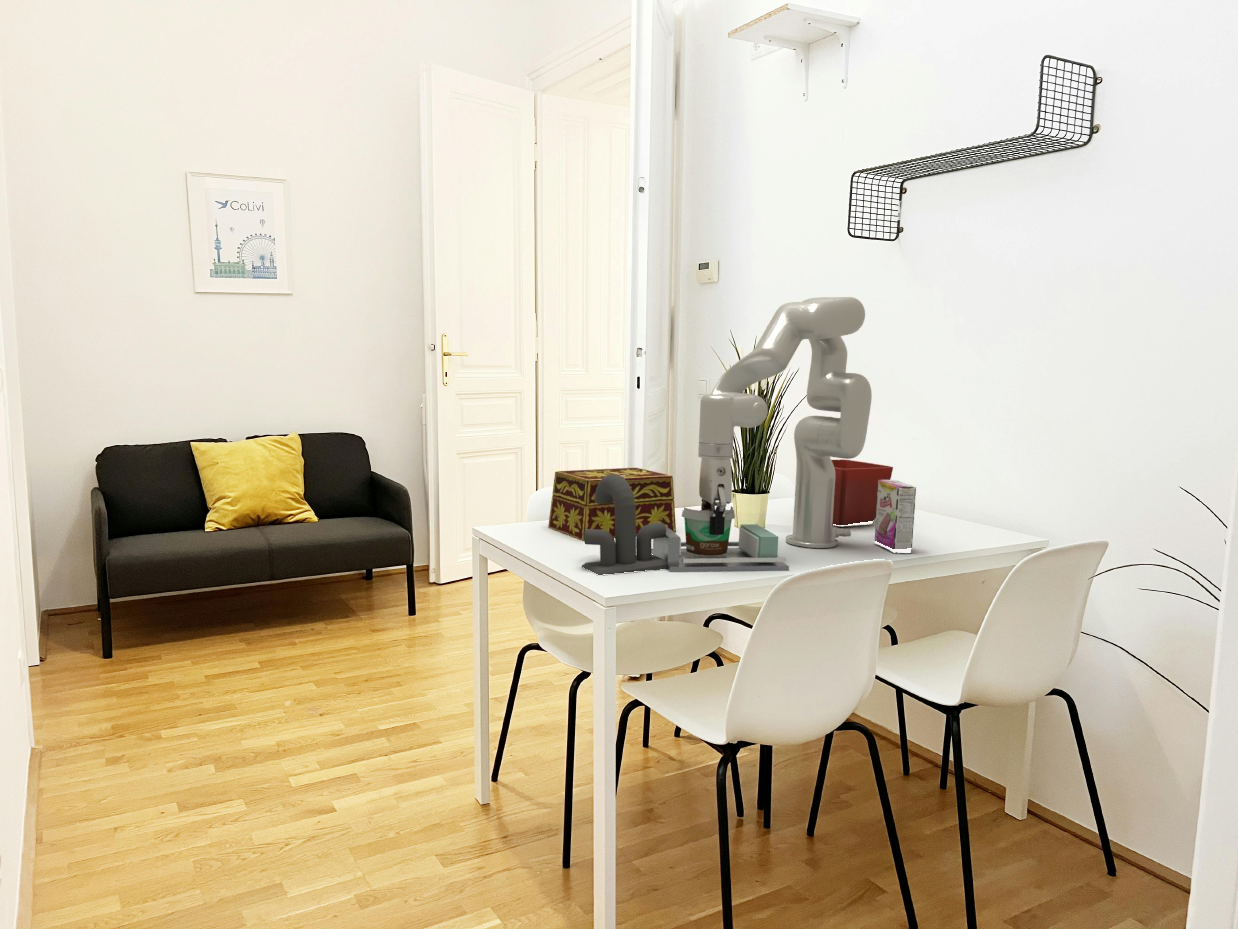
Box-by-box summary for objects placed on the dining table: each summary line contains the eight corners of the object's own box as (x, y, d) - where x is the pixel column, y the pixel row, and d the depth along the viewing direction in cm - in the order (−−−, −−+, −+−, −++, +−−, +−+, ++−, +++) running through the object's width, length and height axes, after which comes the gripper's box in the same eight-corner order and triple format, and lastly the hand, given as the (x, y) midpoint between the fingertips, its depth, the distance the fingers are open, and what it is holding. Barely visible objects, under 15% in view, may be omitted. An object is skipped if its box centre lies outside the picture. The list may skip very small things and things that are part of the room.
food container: (689, 557, 200) (691, 512, 199) (680, 551, 206) (681, 507, 204) (742, 555, 203) (744, 511, 202) (731, 549, 209) (733, 506, 208)
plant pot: (841, 515, 271) (844, 458, 269) (890, 526, 255) (895, 466, 253) (792, 519, 262) (795, 460, 259) (840, 531, 245) (844, 469, 243)
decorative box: (636, 520, 252) (638, 466, 250) (676, 533, 236) (679, 475, 234) (547, 528, 237) (549, 470, 235) (583, 542, 222) (585, 480, 220)
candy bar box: (872, 544, 230) (877, 479, 228) (891, 544, 231) (896, 479, 229) (893, 554, 219) (897, 486, 217) (912, 554, 220) (917, 486, 218)
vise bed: (760, 552, 216) (762, 522, 215) (788, 570, 199) (790, 538, 198) (650, 553, 211) (651, 523, 210) (669, 571, 194) (671, 539, 193)
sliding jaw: (755, 548, 214) (756, 524, 213) (776, 562, 200) (778, 536, 200) (737, 548, 213) (738, 524, 212) (757, 562, 199) (758, 536, 199)
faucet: (636, 553, 211) (635, 466, 208) (672, 568, 197) (672, 476, 194) (564, 563, 202) (562, 473, 199) (597, 580, 188) (595, 484, 185)
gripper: (744, 455, 194) (740, 539, 196) (720, 446, 211) (716, 523, 213) (710, 455, 193) (706, 539, 195) (688, 446, 209) (685, 524, 212)
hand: (712, 530), depth 204 cm, fingers closed on food container, 6 cm apart
